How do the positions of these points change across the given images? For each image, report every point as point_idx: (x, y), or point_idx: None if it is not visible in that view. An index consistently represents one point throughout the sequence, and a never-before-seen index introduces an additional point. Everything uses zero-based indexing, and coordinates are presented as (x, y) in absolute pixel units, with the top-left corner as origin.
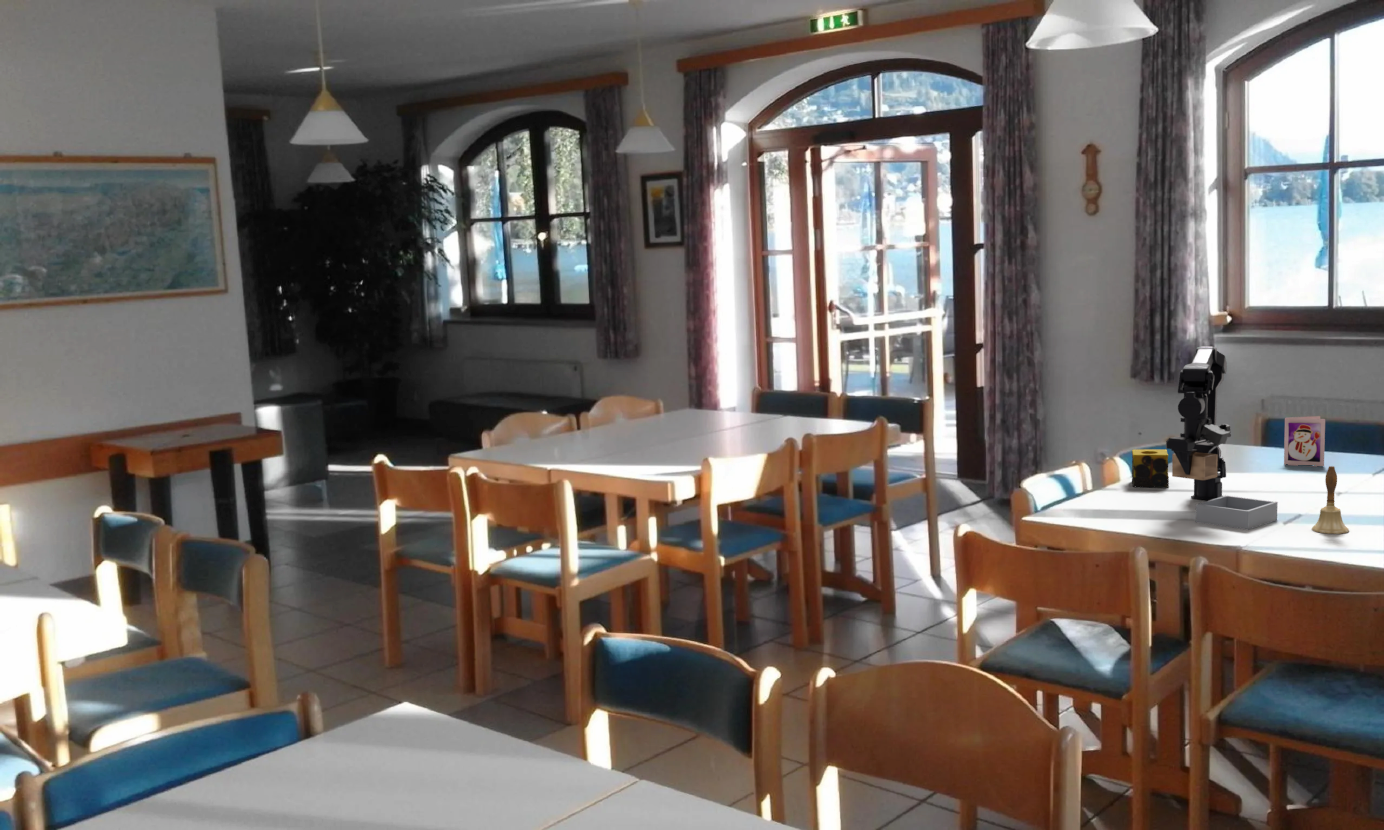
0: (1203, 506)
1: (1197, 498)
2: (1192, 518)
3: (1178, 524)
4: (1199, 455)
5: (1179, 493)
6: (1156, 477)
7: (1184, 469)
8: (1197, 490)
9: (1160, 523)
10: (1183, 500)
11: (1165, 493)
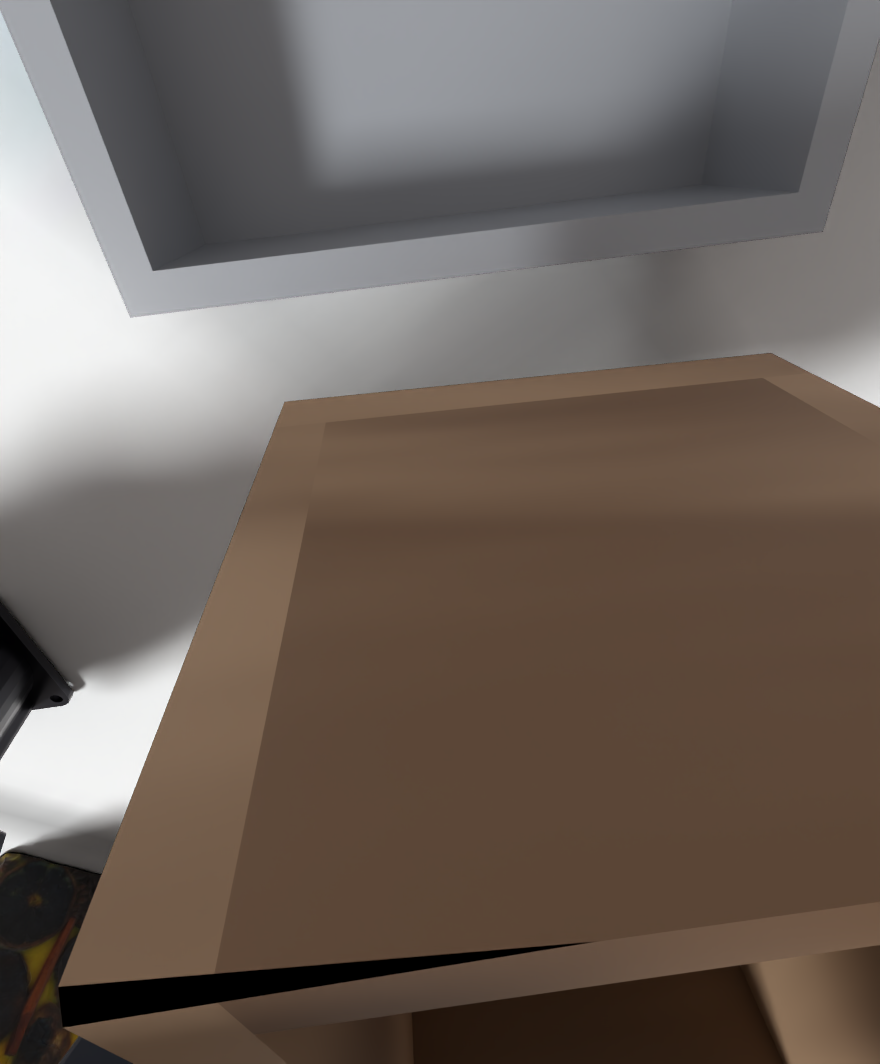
0: (849, 107)
1: (51, 666)
2: (594, 323)
3: (870, 254)
4: (383, 1039)
5: (44, 776)
6: (40, 921)
7: None
8: (10, 718)
9: (875, 373)
10: (155, 682)
11: (116, 798)
